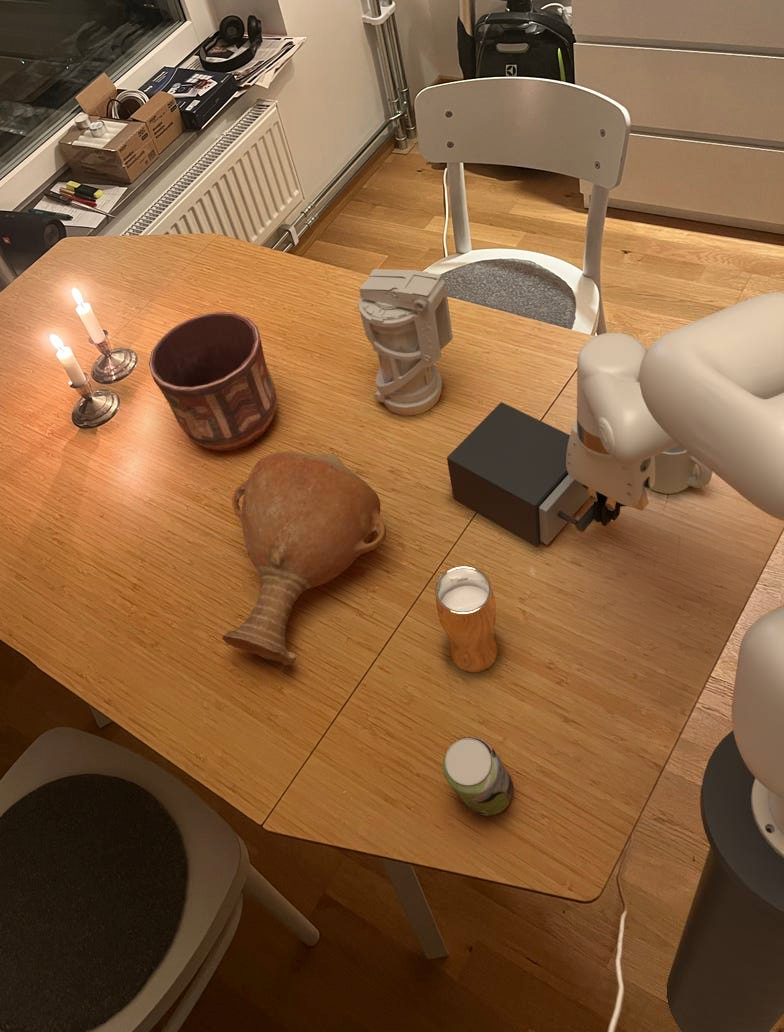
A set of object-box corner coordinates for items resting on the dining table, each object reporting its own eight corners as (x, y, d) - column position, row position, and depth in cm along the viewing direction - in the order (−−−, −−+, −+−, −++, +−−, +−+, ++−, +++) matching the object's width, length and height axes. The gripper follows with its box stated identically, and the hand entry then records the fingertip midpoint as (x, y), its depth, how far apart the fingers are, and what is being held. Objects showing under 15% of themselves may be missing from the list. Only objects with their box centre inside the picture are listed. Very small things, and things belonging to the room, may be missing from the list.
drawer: (621, 504, 126) (623, 469, 120) (574, 560, 122) (574, 527, 116) (515, 449, 136) (512, 415, 131) (468, 500, 132) (463, 466, 127)
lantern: (369, 408, 150) (340, 292, 132) (398, 365, 155) (374, 248, 137) (440, 428, 144) (420, 309, 126) (468, 383, 149) (453, 262, 131)
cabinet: (589, 487, 130) (589, 444, 123) (537, 547, 126) (534, 505, 119) (504, 444, 139) (501, 401, 132) (453, 499, 134) (446, 457, 127)
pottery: (251, 477, 146) (219, 401, 133) (165, 450, 154) (127, 375, 141) (304, 400, 155) (279, 321, 141) (221, 378, 163) (190, 301, 150)
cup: (659, 447, 132) (664, 405, 126) (723, 482, 126) (731, 440, 120) (628, 477, 130) (631, 436, 123) (691, 514, 124) (697, 473, 117)
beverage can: (524, 787, 105) (519, 745, 96) (486, 839, 102) (477, 800, 94) (479, 754, 109) (470, 710, 100) (441, 803, 106) (429, 762, 97)
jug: (419, 464, 124) (352, 671, 110) (364, 505, 141) (300, 690, 127) (291, 398, 121) (204, 602, 107) (249, 448, 138) (170, 630, 124)
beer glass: (437, 641, 120) (423, 579, 109) (484, 618, 120) (474, 554, 109) (462, 684, 115) (450, 625, 104) (511, 660, 116) (504, 598, 105)
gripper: (687, 431, 104) (674, 524, 117) (573, 381, 113) (573, 473, 126) (651, 474, 101) (642, 564, 115) (537, 419, 110) (541, 509, 123)
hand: (606, 516), depth 120 cm, fingers closed
